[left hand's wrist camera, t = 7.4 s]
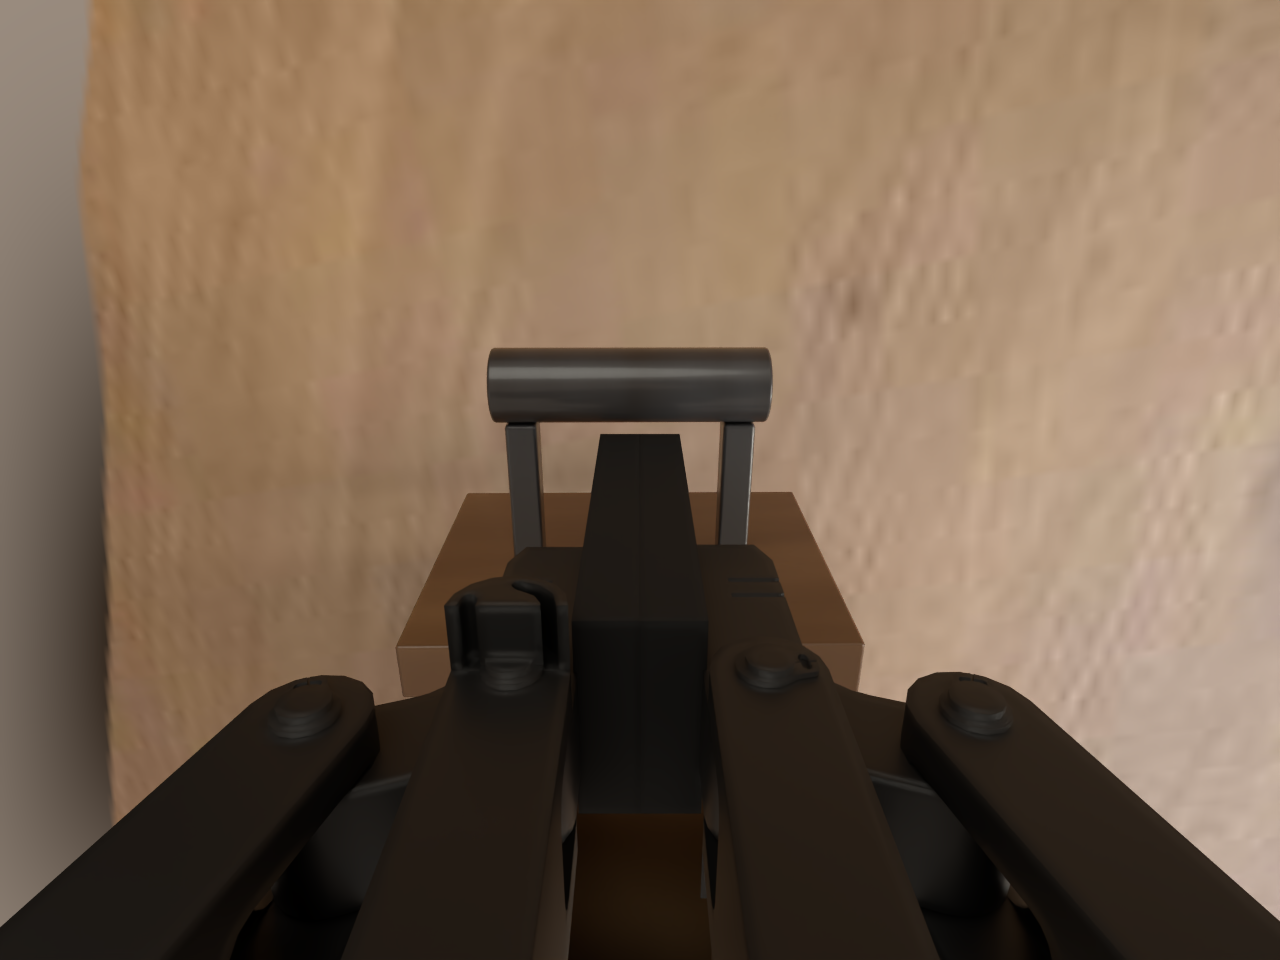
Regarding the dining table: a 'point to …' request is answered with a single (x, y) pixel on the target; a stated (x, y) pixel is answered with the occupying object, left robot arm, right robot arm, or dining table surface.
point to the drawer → (526, 517)
